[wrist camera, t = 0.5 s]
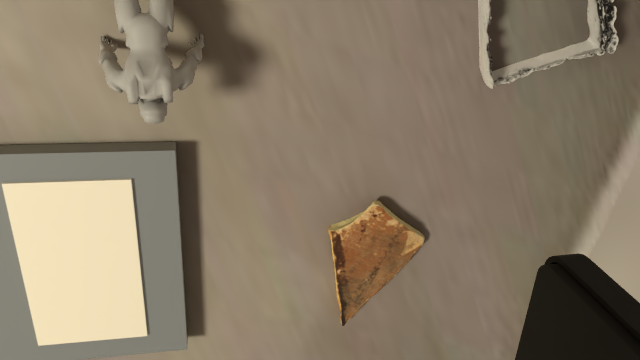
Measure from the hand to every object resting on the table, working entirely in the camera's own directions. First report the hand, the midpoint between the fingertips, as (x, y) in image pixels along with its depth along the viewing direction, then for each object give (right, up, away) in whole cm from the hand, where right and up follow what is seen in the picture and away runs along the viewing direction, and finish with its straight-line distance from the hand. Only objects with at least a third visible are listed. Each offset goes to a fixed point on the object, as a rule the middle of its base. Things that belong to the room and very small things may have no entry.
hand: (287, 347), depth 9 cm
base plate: (-17, -3, +32) cm, 36 cm away
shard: (+5, -3, +38) cm, 38 cm away
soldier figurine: (-10, +14, +25) cm, 30 cm away
